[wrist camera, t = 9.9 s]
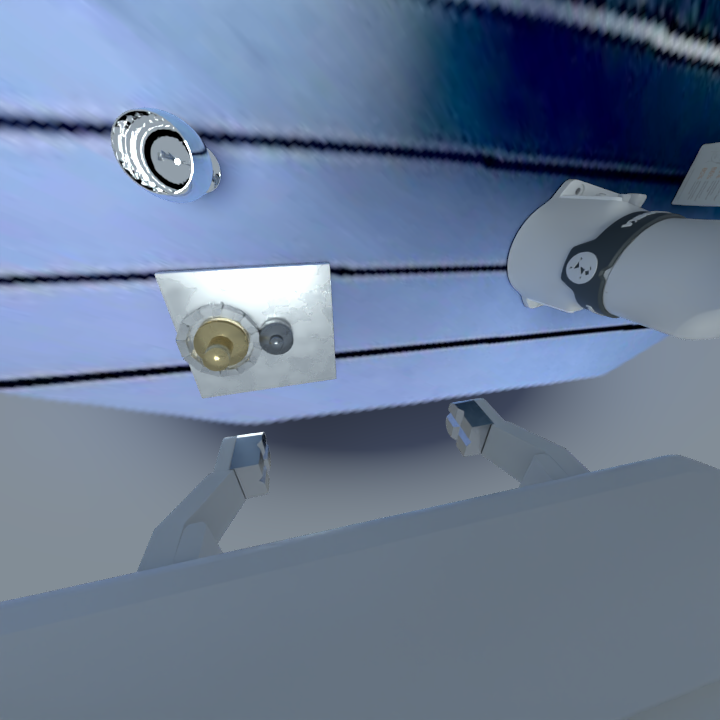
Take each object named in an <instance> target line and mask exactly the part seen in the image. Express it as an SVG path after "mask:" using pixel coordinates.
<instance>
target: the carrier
mask: <svg viewBox="0 0 720 720" xmlns="http://www.w3.org/2000/svg"><path fill="white" fill-rule="evenodd" d="M155 277H156V279H157V282H158V285H159V287H160V290H161V292H162V295H163V298H164V300H165V303H166V306H167V308H168V311H169V313H170V316H171V319H172V321H173V324H174V326H175V329H176V332H177V337H176V343H177V345H178V348H179V350H180V353H181V355H182V358H183V357H184V360H185V361H187V362H188V363H189V365H190V368H191V371H192V373H193V376H194V378H195V381H196V384H197V386H198V389H199V391H200V394H201V397H202V398H208V397H215V396H222V395H229V394H236V393H242V392H249V391H256V390H263V389H270V388H276V387H283V386H290V385H297V384H304V383H310V382H317V381H324V380H331V379H336V366H335V349H334V331H333V313H332V296H331V278H330V264H329V262H323V263H305V264H286V265H268V266H250V267H232V268H214V269H196V270H178V271H160V272H157V273H155ZM213 318H227V319H231V320H233V321H235V322H237V323H239V324H240V325H241V326H242V327H243V328H244V329H245V330H246V332H247V334H248V337H249V347H248V352H247V354H246V356H245V358H244V359H243V360H242V361H240V362H239V363H237V364H235V365H232V366H227V368H226V369H224V370H222V371H212V370H209V369H208V368H206V367H205V366H204V364H203V361H202V358H200V357H199V355H198V354H197V353H196V351H195V348H194V344H193V340H194V336H195V334H196V332H197V330H198V329H199V327H200V326H201V325H202V324H203V323H204V322H206V321H207V320H210V319H213Z"/></svg>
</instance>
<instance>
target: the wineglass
mask: <svg viewBox="0 0 720 720" xmlns="http://www.w3.org/2000/svg"><path fill="white" fill-rule="evenodd" d="M111 143H112V148H113V151H114V154H115V157H116V159H117V161H118V163H119V164H120V166H121V168H122V169H123V171H124V172H125V173H126V174H127V175H128V176H129V177H130V178H131V179H132V180H133V181H134V182H135V183H136V184H138V185H139V186H140V187H142V188H143V189H144V190H146V191H147V192H149V193H151V194H152V195H154V196H156V197H159V198H161V199H163V200H167V201H170V202H176V203H188V202H193V201H195V200H198V199H199V198H201V197H202V196H204V194H205V193H210V192H212V191H214V190H215V189H216V188H217V187H218V185H219V183H220V180H221V169H220V165H219V163H218V160H217V159H216V157H215V156H214V154H213V153H212V152H211V151H210V150H209V149H208V148H207V147H206V146H205V144H204V143H203V141H202V139H201V138H200V137H199V135H198V134H197V133H196V132H195V131H194V130H193V129H192V128H191V127H190V126H189V125H188V124H187V123H185V122H184V121H183V120H181V119H180V118H178V117H176V116H175V115H173V114H170V113H168V112H166V111H163V110H159V109H155V108H145V107H144V108H136V109H131V110H128V111H126V112H124V113H122V114H121V115H120V116H119V117H118V118H117V119H116V120H115V122H114V124H113V126H112V132H111Z"/></svg>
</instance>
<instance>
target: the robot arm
mask: <svg viewBox="0 0 720 720" xmlns="http://www.w3.org/2000/svg"><path fill="white" fill-rule="evenodd" d="M575 191H576V192H575ZM646 196H647V195H643V194H634V193H629V194H618V193H615V192H612V191H609V190H606V189H603V188H601V187H598V186H595V185H592V184H589V183H586V182H583V181H580V180H576V179H569V180H567V181H566V182H564V183H563V185H562V186H561V187H560V188H559V189H558V191H557V192H556V193H555V195H554V196H553V197H552V198H551V199H550V200H549V201H548V202H547V203H545V204H544V205H543V206H541V207H540V208H539V209H537V210H536V211H535V212H534V213H533V214H532V215H531V216H530V217H529V218H528V219H527V220H526V222H525V223H524V224H523V226H522V227H521V229H520V230H519V232H518V233H517V235H516V237H515V239H514V241H513V244H512V246H511V249H510V253H509V257H508V265H507V270H508V277H509V280H510V283H511V285H512V286H513V288H514V289H515V290H516V291H518V292H519V293H520V294H521V296H522V300H523V303H524V305H525V307H528V308H536V307H539V306H542V305H546V306H549V307H552V308H555V309H558V310H561V311H564V312H568V313H573V312H574V311H579V310H582V309H587V310H590V311H591V312H593V313H596V314H598V315H602V316H607V317H611V318H620V317H621V318H623V319H626V320H629V321H632V322H634V323H637V324H640V325H643V326H645V327H648V328H651V329H654V330H657V331H659V332H662V333H665V334H668V335H671V336H674V337H676V338H680V339H685V340H704V339H714V338H720V220H701V219H686V218H685V217H684V216H682V215H679V214H673V213H669V212H664V211H651V212H649V211H647V210H645V209H643V208H640V207H641V206H642V204H643V203H644V201H645V199H646V198H647V197H646ZM449 411H450V414H449V415H448V416H447V419H446V427H447V430H448V433H449V435H450V436H451V437H452V438H453V439H455V440H457V442H456V445H457V447H458V449H459V450H460V452H461V453H462V455H463V456H464V457H465V456H471V455H477V454H482V456H484V457H485V458H486V459H488V460H489V461H491V462H492V463H494V464H495V465H497V466H498V467H499V468H501V469H502V470H504V471H505V472H506V473H508V474H509V475H510V476H512V477H513V478H515V479H516V480H518V481H519V482H520V483H521V484H520V486H519V488H516V489H511V490H507V491H502V492H498V493H493V494H489V495H484V496H480V497H475V498H471V499H466V500H462V501H457V502H453V503H448V504H444V505H439V506H435V507H430V508H425V509H421V510H416V511H412V512H408V513H403V514H399V515H394V516H389V517H385V518H380V519H376V520H372V521H367V522H363V523H358V524H353V525H348V526H344V527H339V528H335V529H330V530H326V531H321V532H317V533H313V534H308V535H303V536H299V537H294V538H289V539H285V540H281V541H276V542H271V543H267V544H262V545H258V546H253V547H249V548H244V549H240V550H235V551H231V552H226V553H223V552H222V550H221V548H220V547H219V545H218V542H219V541H220V539H221V537H222V536H223V534H224V533H225V531H226V530H227V528H228V527H229V525H230V524H231V522H232V521H233V519H234V518H235V516H236V515H237V513H238V512H239V510H240V509H241V507H242V505H243V504H244V502H245V499H249V498H253V497H258V496H262V495H267V494H268V491H269V475H268V471H269V470H270V466H271V457H270V450H269V446H268V445H266V436H265V433H264V432H261V433H253V434H246V435H238V436H233V437H225V438H224V439H223V441H222V443H221V447H220V451H219V454H218V458H217V461H216V465H215V469H214V472H213V473H210V474H208V475H207V476H206V477H205V478H204V480H202V481H201V483H199V484H198V485H197V487H196V488H195V489H194V490H193V491H192V492H191V493H190V494H189V495H188V496H187V497H186V498H185V499H184V500H183V501H182V502H181V503H180V504H179V505H178V506H177V507H176V508H175V509H174V510H173V511H172V512H171V513H170V514H169V515H168V516H167V517H166V518H165V519H164V520H163V521H162V522H161V523H160V524H159V525H158V526H157V527H156V528H155V529H154V531H153V534H152V536H151V538H150V541H149V543H148V546H147V548H146V551H145V554H144V556H143V558H142V561H141V563H140V565H139V568H138V570H137V572H135V573H130V574H126V575H122V576H117V577H112V578H108V579H103V580H99V581H94V582H90V583H85V584H81V585H76V586H72V587H67V588H62V589H58V590H53V591H49V592H45V593H40V594H35V595H31V596H26V597H21V598H17V599H11V600H7V601H2V602H0V720H720V469H717V468H715V467H712V466H709V465H707V464H704V463H701V462H699V461H696V460H693V459H690V458H687V457H684V456H681V455H667V456H661V457H657V458H652V459H647V460H643V461H639V462H634V463H630V464H625V465H620V466H616V467H611V468H607V469H602V470H598V471H594V472H590V471H589V470H588V469H587V468H586V467H585V466H583V464H582V463H581V462H579V461H578V460H577V459H576V458H575V457H574V456H573V455H572V454H571V453H570V452H569V451H568V450H567V449H566V448H564V447H562V446H560V445H557V444H555V443H553V442H551V441H549V440H547V439H545V438H543V437H540V436H538V435H536V434H534V433H532V432H530V431H528V430H525V429H523V428H521V427H519V426H517V425H515V424H513V423H511V422H505V421H504V420H503V419H502V418H501V416H499V414H498V413H497V412H496V411H495V410H494V409H493V408H492V407H491V406H490V404H489V403H488V402H487V401H486V400H485V399H483V398H478V399H472V400H466V401H460V402H454V403H451V404H450V405H449Z"/></svg>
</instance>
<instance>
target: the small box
mask: <svg viewBox="0 0 720 720" xmlns="http://www.w3.org/2000/svg"><path fill="white" fill-rule="evenodd" d="M672 204H673V205H691V206H720V142H719V143H712V144H704V145H702V147H701V149H700V150H699V152H698V154H697V156H696V158H695V160H694V162H693V164H692V166H691V167H690V169H689V171H688V173H687V175H686V177H685V179H684V181H683V183H682V185H681V186H680V188H679V190H678V192H677V194H676V196H675V198H674V200H673V202H672Z"/></svg>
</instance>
